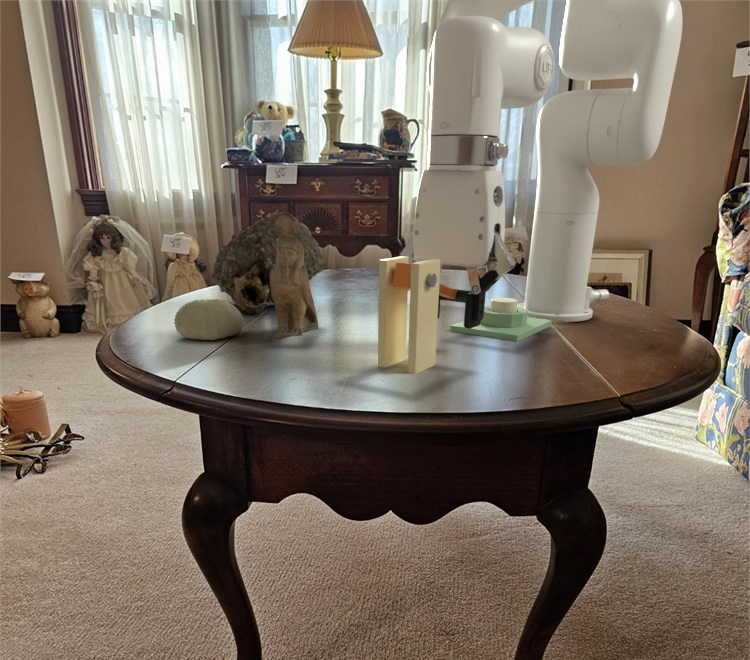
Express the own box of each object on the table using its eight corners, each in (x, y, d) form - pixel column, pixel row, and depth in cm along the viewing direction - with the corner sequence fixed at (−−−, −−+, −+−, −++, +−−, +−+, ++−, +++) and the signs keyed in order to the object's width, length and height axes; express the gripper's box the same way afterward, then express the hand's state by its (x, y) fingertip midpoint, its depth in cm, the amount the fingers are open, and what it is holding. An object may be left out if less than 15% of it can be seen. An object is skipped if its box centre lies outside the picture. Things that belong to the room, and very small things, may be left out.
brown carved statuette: (304, 365, 88) (292, 227, 77) (265, 362, 89) (248, 225, 78) (324, 328, 97) (316, 199, 86) (288, 326, 98) (276, 198, 87)
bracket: (401, 360, 81) (404, 251, 76) (465, 372, 77) (474, 257, 71) (343, 383, 73) (341, 261, 67) (411, 398, 68) (416, 269, 62)
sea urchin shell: (174, 315, 95) (210, 274, 93) (217, 352, 98) (252, 314, 96) (161, 328, 87) (200, 284, 85) (208, 369, 90) (246, 327, 88)
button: (497, 309, 93) (498, 296, 93) (520, 312, 92) (521, 299, 91) (485, 313, 91) (486, 300, 90) (509, 316, 89) (511, 303, 88)
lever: (437, 304, 81) (441, 284, 81) (473, 308, 79) (477, 288, 78) (381, 284, 70) (385, 261, 70) (420, 289, 68) (425, 265, 67)
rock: (281, 195, 112) (266, 180, 98) (337, 262, 116) (332, 256, 101) (206, 271, 116) (182, 266, 102) (263, 333, 119) (248, 337, 105)
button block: (487, 326, 100) (489, 299, 98) (550, 335, 95) (553, 307, 93) (449, 341, 91) (451, 312, 89) (516, 352, 86) (519, 321, 84)
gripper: (548, 157, 70) (528, 327, 79) (414, 157, 79) (408, 310, 87) (520, 155, 65) (501, 338, 73) (379, 155, 74) (376, 319, 82)
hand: (451, 321), depth 80 cm, fingers closed on lever, 5 cm apart
